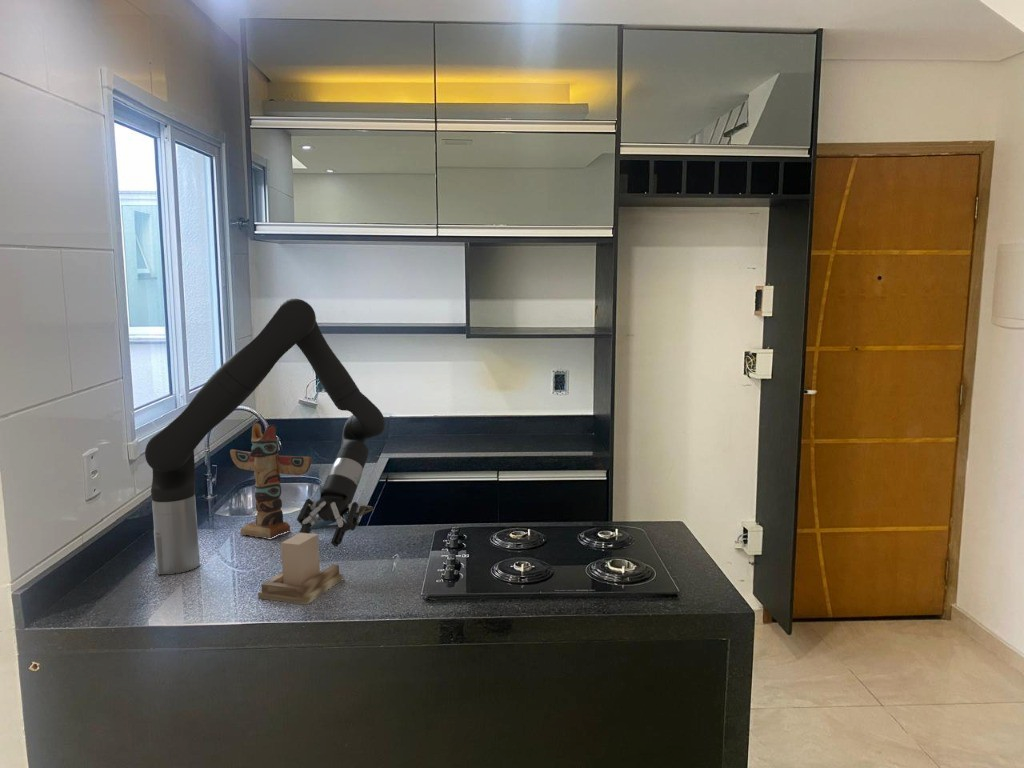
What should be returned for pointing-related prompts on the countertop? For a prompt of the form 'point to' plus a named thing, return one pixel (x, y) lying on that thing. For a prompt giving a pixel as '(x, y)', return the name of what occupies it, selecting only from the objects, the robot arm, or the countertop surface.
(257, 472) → the totem pole
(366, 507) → the pliers
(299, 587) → the wooden rimmed tray
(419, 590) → the countertop surface
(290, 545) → the clay block
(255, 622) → the countertop surface
